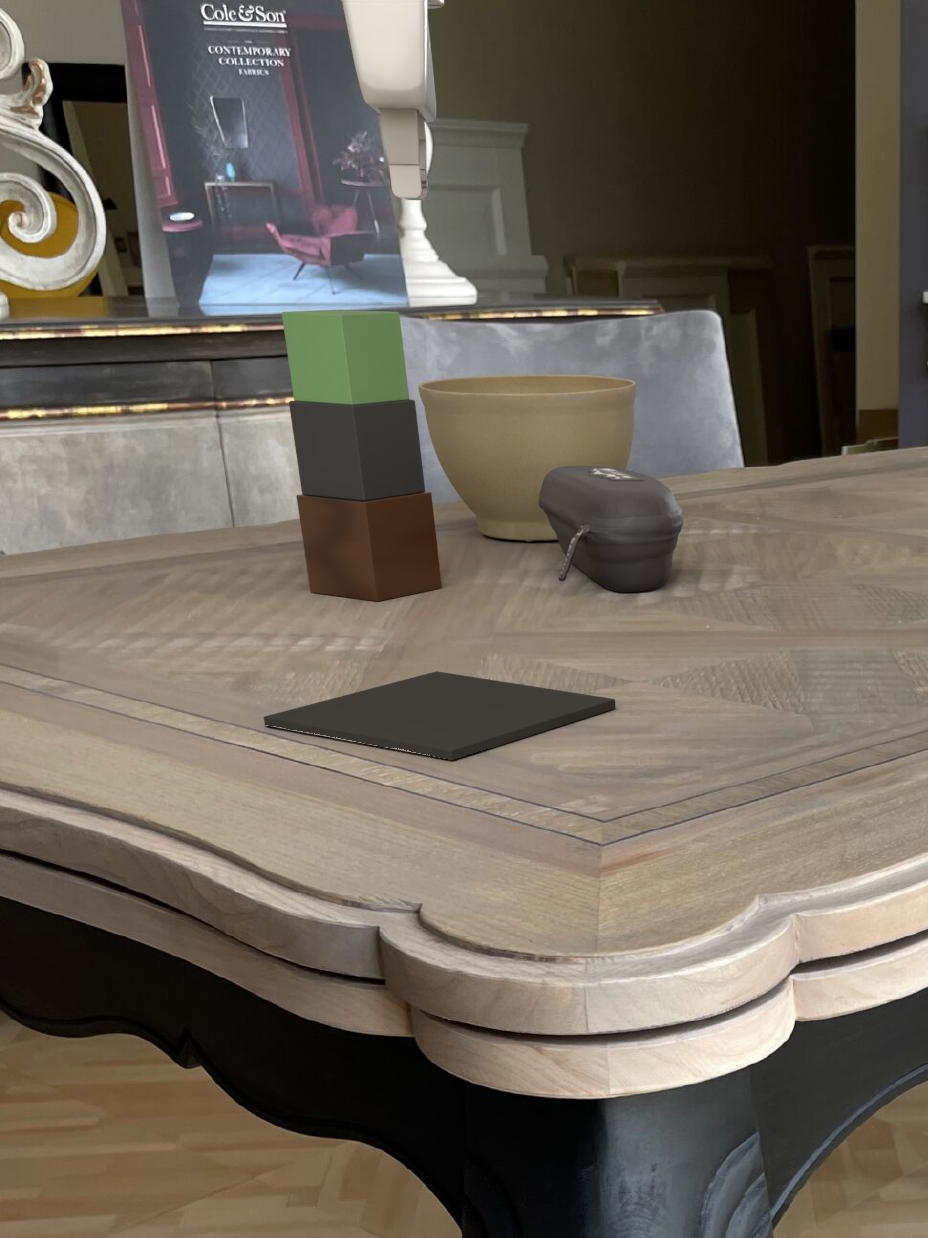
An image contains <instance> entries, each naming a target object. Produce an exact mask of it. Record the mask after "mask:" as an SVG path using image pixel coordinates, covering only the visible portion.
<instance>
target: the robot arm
mask: <svg viewBox="0 0 928 1238" xmlns="http://www.w3.org/2000/svg"><path fill="white" fill-rule="evenodd" d="M339 1H340V3H341V4H342V8H343V13H344V18H345V24H346V28H347V33H348V39H349V43H350V47H351V53H352V59H353V63H354V69H355V71H356V76H357V80H358V84H359V88H360V93H361V95H362V98H363V100H364V102H365V103H366V105H368V106H369V107H370V108H371V109H373V110H374V111H375V112H376V113H377V114H378V115H380V121H381V122H380V123H381V132H382V138H383V142H384V146H385V151H386V156H387V162H388V168H389V176H390V184H391V191H392V193H393V195H394V196H395V197H397V198H399V199H404V200H406V201H425V200H427V199H428V197H429V195H430V194H429V182H428V173H427V171H428V170H427V169H428V167H427V164H428V163H427V161H428V159H427V157H428V156H427V133H426V123H434V122H435V121H436V119H437V98H436V97H437V96H436V87H435V76H434V64H433V56H432V47H431V36H430V24H429V17H428V16H429V10H433V9H440V8H443V7H444V6H445V0H339Z"/></svg>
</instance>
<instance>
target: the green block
mask: <svg viewBox="0 0 928 1238" xmlns="http://www.w3.org/2000/svg"><path fill="white" fill-rule="evenodd" d="M281 319H282V325H283V332H284V333H283V334H284V339H285V345H286V352H287V353H286V354H287V359H288V360H287V361H288V367H289V374H290V380H291V387H292V394H293V401H302V402H315V403H329V404H342V405H360V404H370V403H381V402H391V401H402V400H410V394H409V393H410V392H409V384H408V376H407V368H406V358H405V350H404V342H403V333H402V323H401V316H400V312H399V311H384V310H383V311H381V310H361V309H324V310H323V309H322V310H321V309H319V310H298V311H297V310H296V311H282V312H281Z"/></svg>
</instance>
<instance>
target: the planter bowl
mask: <svg viewBox="0 0 928 1238" xmlns="http://www.w3.org/2000/svg"><path fill="white" fill-rule="evenodd" d="M636 385H637V383H636V381H634V380H632V379H628V378H621V377H620V378H619V377H614V376H605V375H604V376H603V375H590V374H589V375H588V374H563V373H561V374H552V373H551V374H550V373H549V374H548V373H546V374H545V373H541V374H539V373H538V374H536V373H535V374H534V373H531V374H530V373H529V374H528V373H527V374H497V375H495V374H494V375H479V376H478V375H477V376H462V377H461V376H460V377H448V378H440V379H434V380H433V379H432V380H428V381H427V380H426V381H423V382H421V383H419V384H418V395H419V398H420V401H421V403H422V405H423V407H424V413H425V419H426V425H427V429H428V433H429V437H430V440H431V443H432V446H433V449H434V452H435V456H436V458H437V461H438V463H439V464H440V466H441V468H442V471H443V472H444V474H445V477H447V480H448V481H449V483H450V484H451V486H452V487H453V489H454V490H455V492H456V494H458V496H459V498H460V499H461V500H462V501H463V503H464V504H465V505H466V507H467V508H468V509H469V510H470V511H471V512H472V513H473V514H474V516H475V518H476V521H477V526H478V529H479V532H480V533H481V535H484V536H486V537H490V538H495V539H501V540H511V541H525V542H526V543H532V542H533V541H558V538H557V535H556V533H555V531H554V530H553V529H552V527H551V525H550V522H549V520H548V517H547V515H546V513H545V512H544V510H543V509H541V508H540V507H539V505H538V503H539V492H540V491H541V487H542V484H543V480H544V478H545V476H546V475H547V474H548V473H549V472H550V471H551V470H553V469H555V468H557V467H564V466H599V467H610V468H617V469H624V470H627V467H628V464H629V460H630V456H631V451H632V445H633V438H634V428H635V427H634V425H635V424H634V422H635V414H634V410H635V409H634V405H635V399H636V393H637V390H636V389H637V386H636Z"/></svg>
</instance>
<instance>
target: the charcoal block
mask: <svg viewBox="0 0 928 1238" xmlns="http://www.w3.org/2000/svg"><path fill="white" fill-rule="evenodd" d="M288 406H289V413H290V420H291V421H290V422H291V426H292V434H293V440H294V441H293V442H294V447H295V454H296V460H297V468H298V475H299V481H300V488H301V489H300V490H301V494H303V495H310V496H320V497H329V498H339V499H348V500H358V501H369V500H376V499H382V498H389V497H395V496H402V495H409V494H415V493H422V492H426V485H425V484H426V483H425V477H424V467H423V459H422V450H421V442H420V432H419V424H418V423H419V422H418V415H417V414H418V413H417V407H416V400H415V399H409V400H402V401H391V402H381V403H370V404H360V405H342V404H329V403H315V402H302V401H294V400H289V401H288Z"/></svg>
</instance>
